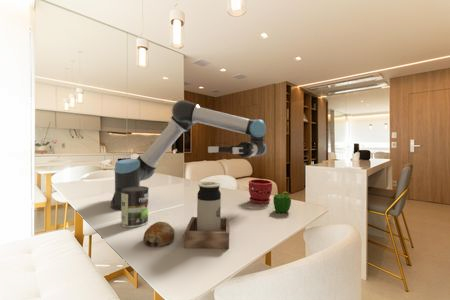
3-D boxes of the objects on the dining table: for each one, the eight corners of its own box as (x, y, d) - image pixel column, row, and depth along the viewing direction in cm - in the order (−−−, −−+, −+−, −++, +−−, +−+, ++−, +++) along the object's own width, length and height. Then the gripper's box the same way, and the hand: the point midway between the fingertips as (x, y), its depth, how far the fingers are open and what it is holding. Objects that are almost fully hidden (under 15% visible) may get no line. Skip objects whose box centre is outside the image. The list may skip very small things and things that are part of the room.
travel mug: (192, 236, 75) (192, 184, 74) (206, 229, 82) (207, 180, 81) (210, 242, 71) (211, 187, 70) (224, 234, 77) (225, 183, 77)
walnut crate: (184, 247, 69) (184, 232, 69) (191, 230, 83) (191, 217, 83) (228, 248, 69) (229, 233, 69) (228, 230, 83) (228, 217, 83)
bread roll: (176, 253, 73) (184, 228, 75) (150, 250, 66) (160, 223, 68) (159, 243, 80) (168, 221, 82) (134, 239, 72) (144, 215, 75)
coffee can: (153, 219, 93) (153, 186, 93) (139, 229, 83) (139, 192, 83) (131, 217, 95) (131, 185, 95) (115, 226, 85) (115, 190, 85)
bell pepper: (269, 211, 108) (269, 191, 107) (278, 208, 114) (278, 188, 113) (284, 215, 102) (285, 194, 101) (293, 212, 108) (294, 191, 107)
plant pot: (243, 201, 125) (244, 180, 125) (258, 198, 134) (259, 178, 134) (261, 206, 115) (261, 184, 115) (276, 202, 124) (277, 181, 123)
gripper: (269, 158, 104) (245, 160, 87) (227, 155, 119) (199, 157, 102) (269, 142, 103) (245, 141, 87) (227, 141, 119) (199, 141, 102)
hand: (220, 150), depth 94 cm, fingers open, 13 cm apart
